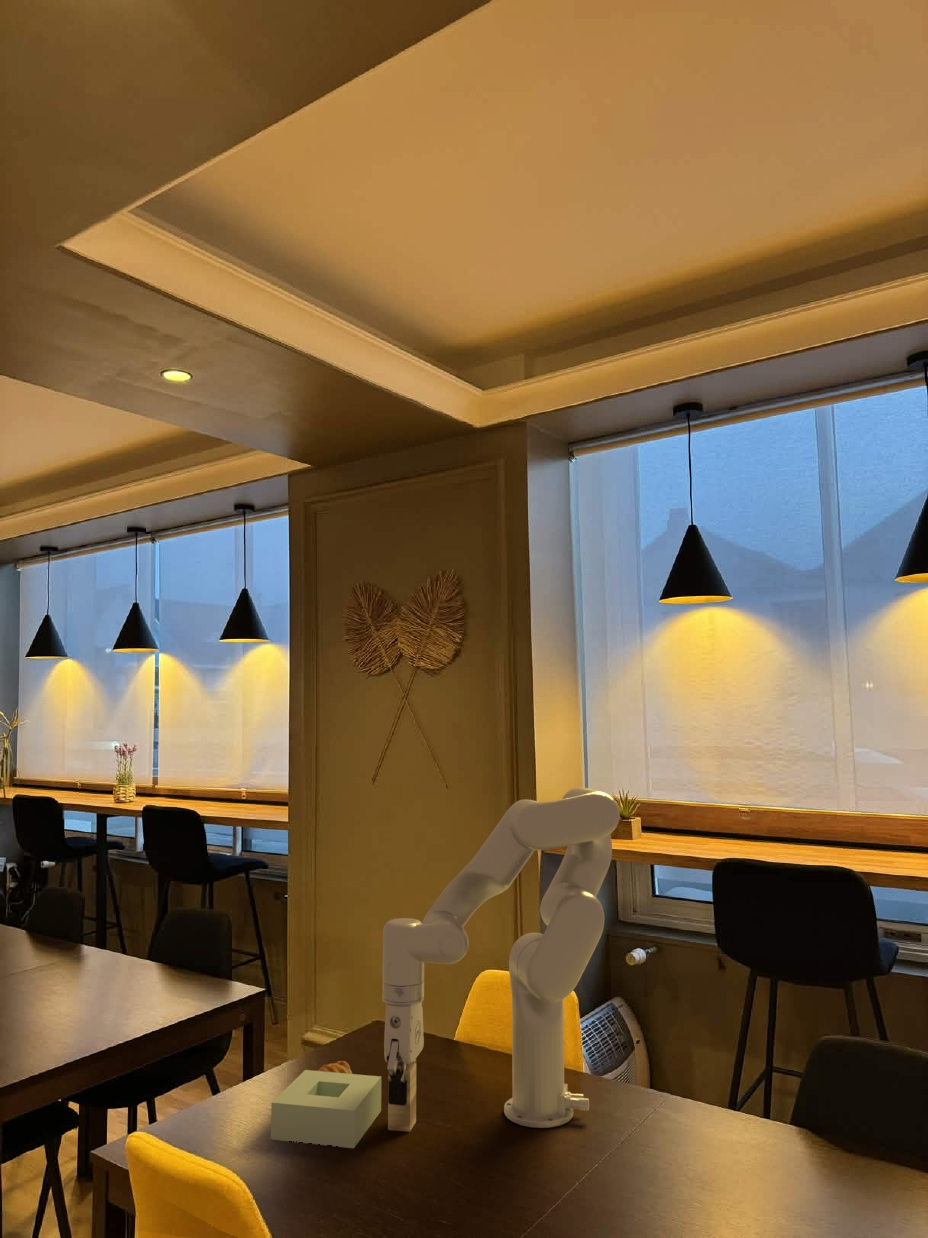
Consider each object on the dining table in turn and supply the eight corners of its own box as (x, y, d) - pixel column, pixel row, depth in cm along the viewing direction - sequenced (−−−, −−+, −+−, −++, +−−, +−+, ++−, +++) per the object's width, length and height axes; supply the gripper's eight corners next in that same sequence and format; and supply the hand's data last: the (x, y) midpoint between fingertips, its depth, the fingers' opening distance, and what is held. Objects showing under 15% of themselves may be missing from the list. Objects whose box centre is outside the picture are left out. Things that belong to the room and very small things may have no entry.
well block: (381, 1111, 165) (381, 1076, 165) (353, 1148, 150) (354, 1110, 151) (304, 1103, 168) (305, 1070, 168) (270, 1139, 153) (271, 1102, 154)
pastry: (315, 1098, 171) (316, 1077, 171) (297, 1087, 176) (297, 1067, 176) (356, 1085, 177) (356, 1064, 178) (337, 1075, 182) (337, 1055, 183)
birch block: (416, 1122, 160) (416, 1063, 161) (409, 1132, 156) (410, 1071, 157) (394, 1120, 161) (395, 1061, 162) (387, 1129, 157) (388, 1070, 158)
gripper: (410, 1007, 152) (409, 1120, 150) (435, 979, 169) (434, 1081, 167) (368, 1004, 154) (366, 1116, 152) (396, 977, 170) (395, 1077, 168)
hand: (402, 1096), depth 159 cm, fingers open, 5 cm apart
